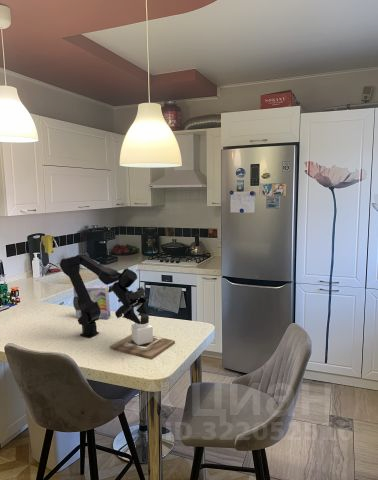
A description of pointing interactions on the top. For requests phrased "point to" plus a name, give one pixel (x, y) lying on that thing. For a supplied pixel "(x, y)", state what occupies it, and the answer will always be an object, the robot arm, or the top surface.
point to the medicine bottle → (142, 330)
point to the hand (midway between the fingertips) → (144, 321)
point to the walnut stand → (143, 346)
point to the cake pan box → (95, 300)
